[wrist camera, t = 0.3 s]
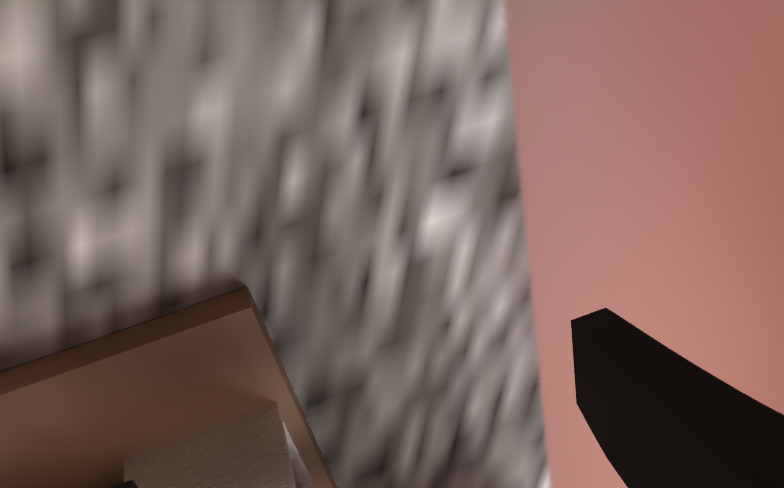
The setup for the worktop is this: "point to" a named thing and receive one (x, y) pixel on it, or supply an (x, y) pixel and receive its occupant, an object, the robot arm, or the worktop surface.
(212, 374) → the walnut board
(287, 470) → the white cardboard cube
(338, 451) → the worktop surface
